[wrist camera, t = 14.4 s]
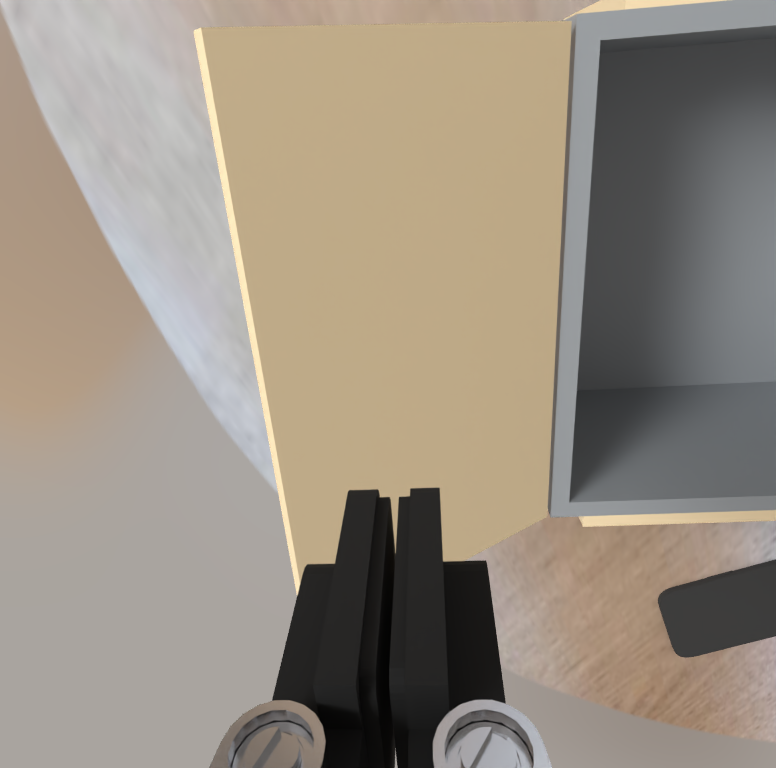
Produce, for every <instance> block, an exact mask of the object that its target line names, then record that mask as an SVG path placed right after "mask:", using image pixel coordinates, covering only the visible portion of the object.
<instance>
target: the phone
mask: <svg viewBox="0 0 776 768" xmlns="http://www.w3.org/2000/svg"><path fill="white" fill-rule="evenodd" d="M658 604H659V607H660V610H661V614H662V617H663V620H664V623H665V626H666V629H667V632H668V635H669V638H670V641H671V644H672V647H673V649H674V651H675V653H676V654H677V655H679V656H681V657H694V656H699V655H703V654H707V653H711V652H715V651H719V650H723V649H726V648H730V647H734V646H738V645H742V644H746V643H750V642H754V641H758V640H762V639H766V638H770V637H774V636H776V560H772V561H768V562H765V563H761V564H757V565H753V566H750V567H746V568H742V569H739V570H735V571H729V572H725V573H722V574H718V575H714V576H711V577H707V578H705V579H701V580H698V581H694V582H690V583H686V584H683V585H679V586H675V587H672V588H669V589H667V590H665V591H663V592H662V593H661V594H660V595H659V598H658Z"/></svg>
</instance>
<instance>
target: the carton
mask: <svg viewBox="0 0 776 768" xmlns="http://www.w3.org/2000/svg"><path fill="white" fill-rule="evenodd" d="M563 21H572V24H571V45H570V65H569V85H568V105H567V126H566V146H565V166H564V186H563V207H562V227H561V247H560V267H559V288H558V308H557V328H556V348H555V369H554V389H553V409H552V429H551V450H550V470H549V490H548V511H549V514H550V517H577V516H579V518H580V521H581V523H582V526H583V527H589V526H621V525H653V524H685V523H718V522H750V521H776V0H600V1H598V2H596V3H594V4H592V5H590V6H588V7H586V8H584V9H582V10H580V11H578V12H576V13H574V14H573V15H571V16H569V17H567V18H565V19H564V20H563Z"/></svg>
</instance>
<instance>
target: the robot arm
mask: <svg viewBox="0 0 776 768" xmlns="http://www.w3.org/2000/svg"><path fill="white" fill-rule="evenodd" d="M395 747H396V756H397V765H398V768H552V766H551V763H550V760H549V757H548V754H547V751H546V748H545V745H544V742H543V740H542V738H541V736H540V735H539V733H538V731H537V729H536V727H535V726H534V725H533V723H532V722H531V721H530V720H529V719H528V718H527V717H526V716H525V715H524V714H523V713H521V712H520V711H518V710H517V709H515V708H513V707H512V706H510V705H508V704H506V703H505V695H504V688H503V680H502V672H501V665H500V657H499V650H498V642H497V635H496V627H495V620H494V612H493V605H492V597H491V590H490V582H489V575H488V568H487V563H486V561H443V550H442V527H441V504H440V487H439V488H411V489H410V496H406V497H399V503H398V520H397V538H396V554H395V543H394V531H393V520H392V509H391V499H390V497H380V494H379V490H378V489H372V490H349V491H348V494H347V499H346V505H345V510H344V516H343V521H342V527H341V532H340V538H339V544H338V549H337V555H336V560H335V564H307V565H306V567H305V568H304V572H303V575H302V579H301V583H300V587H299V591H298V595H297V600H296V604H295V608H294V612H293V616H292V621H291V625H290V629H289V633H288V637H287V641H286V645H285V650H284V654H283V658H282V662H281V666H280V670H279V674H278V678H277V683H276V687H275V691H274V695H273V700H272V701H270V702H267V703H264V704H260V705H257V706H256V707H254V708H252V709H251V710H249V711H247V712H246V713H244V714H243V715H242V716H241V717H239V718H238V720H236V721H235V722H234V723H233V724H232V725H231V726H230V728H229V729H228V731H227V733H226V734H225V736H224V738H223V739H222V741H221V743H220V745H219V747H218V749H217V751H216V754H215V756H214V758H213V760H212V762H211V764H210V767H209V768H394V767H395Z"/></svg>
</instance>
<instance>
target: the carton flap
mask: <svg viewBox="0 0 776 768" xmlns="http://www.w3.org/2000/svg"><path fill="white" fill-rule="evenodd" d="M571 24H572V21H540V22H485V23H430V24H374V25H319V26H263V27H208V28H199V29H197V30H195V31H194V36H195V42H196V47H197V53H198V58H199V63H200V69H201V74H202V80H203V85H204V91H205V96H206V102H207V107H208V112H209V118H210V123H211V129H212V134H213V140H214V145H215V151H216V156H217V162H218V167H219V172H220V178H221V183H222V189H223V194H224V200H225V205H226V211H227V216H228V221H229V227H230V232H231V238H232V243H233V249H234V254H235V260H236V265H237V271H238V276H239V281H240V287H241V292H242V298H243V303H244V309H245V314H246V320H247V325H248V331H249V336H250V341H251V347H252V352H253V358H254V363H255V369H256V374H257V380H258V385H259V390H260V396H261V401H262V407H263V412H264V418H265V423H266V429H267V434H268V440H269V445H270V450H271V456H272V461H273V467H274V472H275V478H276V483H277V489H278V494H279V499H280V505H281V510H282V516H283V521H284V527H285V532H286V537H287V543H288V549H289V554H290V559H291V565H292V570H293V576H294V581H295V587H296V592H297V595H298V591H299V587H300V583H301V579H302V575H303V572H304V568H305V567H306V565H307V564H335V560H336V555H337V549H338V544H339V538H340V532H341V527H342V521H343V516H344V510H345V505H346V499H347V494H348V491H349V490H372V489H378V490H379V494H380V497H390V499H391V509H392V520H393V531H394V543H395V554H396V538H397V520H398V503H399V497H406V496H410V489H411V488H439V487H440V504H441V527H442V550H443V561H465V560H467V559H468V558H470V557H472V556H474V555H476V554H478V553H480V552H482V551H484V550H485V549H487V548H489V547H491V546H493V545H495V544H497V543H499V542H501V541H502V540H504V539H506V538H508V537H510V536H512V535H514V534H516V533H517V532H519V531H521V530H523V529H525V528H527V527H529V526H531V525H533V524H534V523H536V522H538V521H540V520H542V519H544V518H546V517H547V510H548V490H549V470H550V450H551V429H552V409H553V389H554V369H555V348H556V328H557V308H558V288H559V267H560V247H561V227H562V207H563V186H564V166H565V146H566V126H567V105H568V85H569V65H570V45H571Z"/></svg>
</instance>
